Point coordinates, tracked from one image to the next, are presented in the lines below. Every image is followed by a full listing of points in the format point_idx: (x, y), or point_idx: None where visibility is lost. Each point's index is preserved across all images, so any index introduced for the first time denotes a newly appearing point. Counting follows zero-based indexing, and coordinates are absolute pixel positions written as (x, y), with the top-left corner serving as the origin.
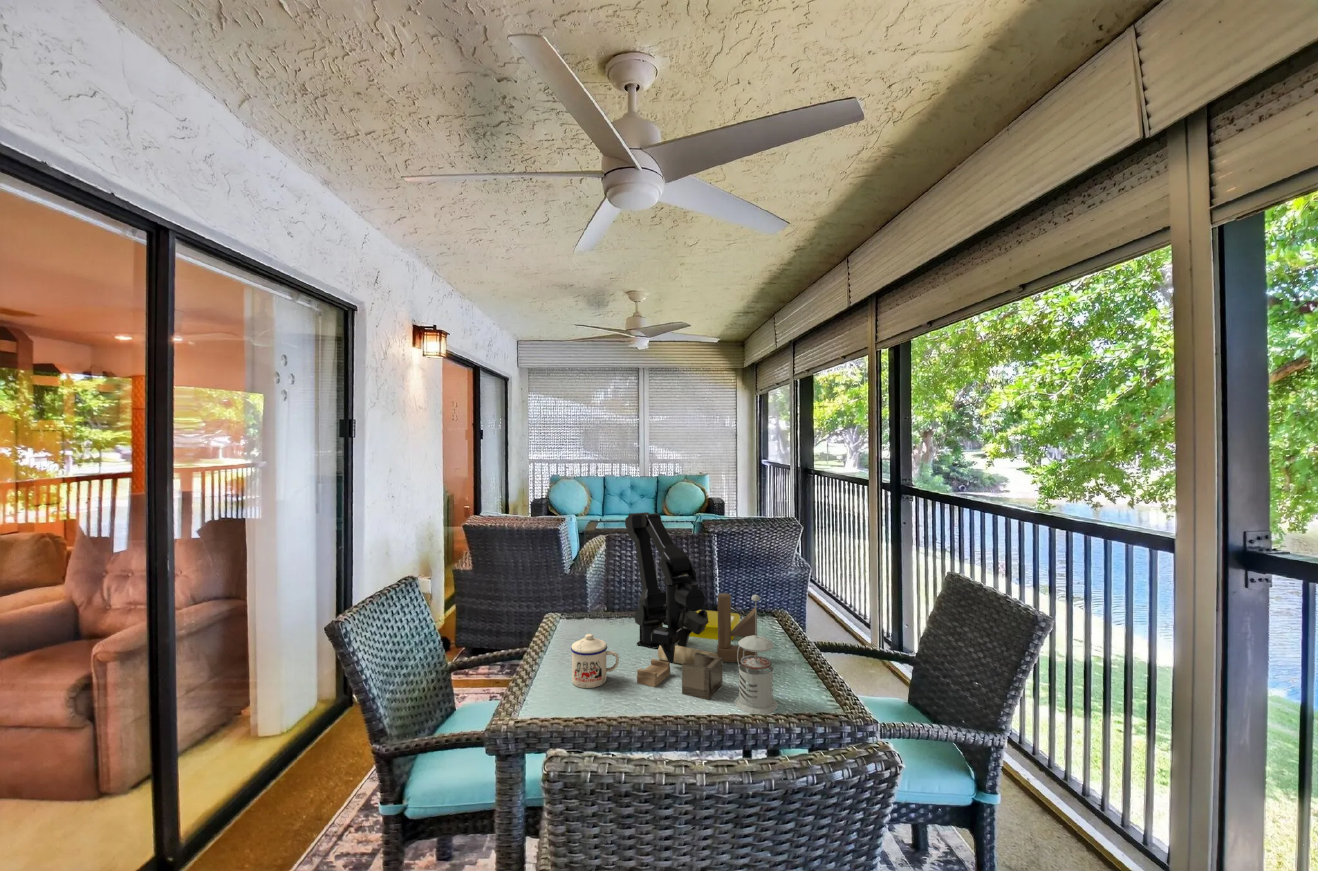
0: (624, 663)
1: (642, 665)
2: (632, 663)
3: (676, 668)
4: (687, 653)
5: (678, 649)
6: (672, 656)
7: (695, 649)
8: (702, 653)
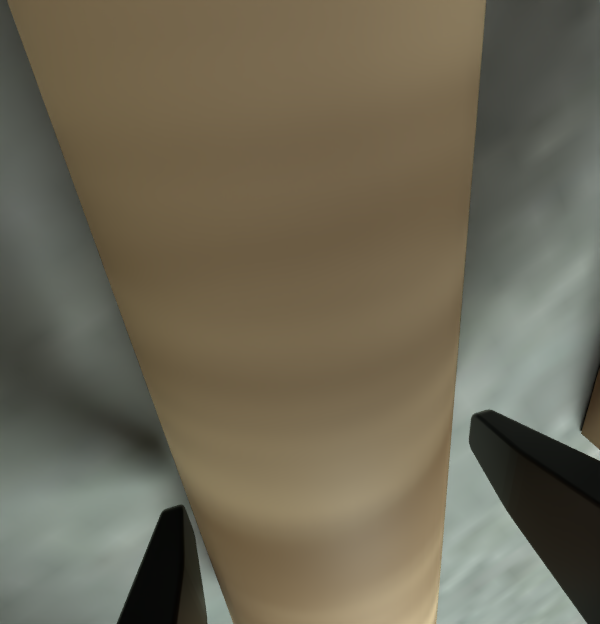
0: (521, 603)
1: (513, 536)
2: (505, 585)
3: (467, 333)
4: (450, 389)
5: (427, 557)
6: (590, 458)
7: (327, 364)
8: (445, 28)
